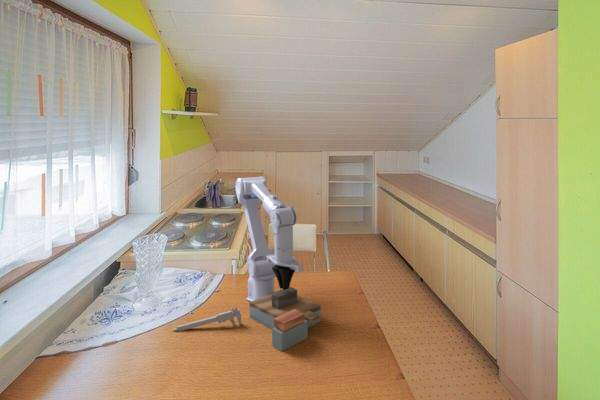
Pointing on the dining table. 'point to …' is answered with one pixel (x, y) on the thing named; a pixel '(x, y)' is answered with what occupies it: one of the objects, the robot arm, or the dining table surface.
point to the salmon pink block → (289, 320)
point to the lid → (286, 304)
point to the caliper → (213, 320)
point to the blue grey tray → (287, 337)
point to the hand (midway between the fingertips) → (284, 288)
